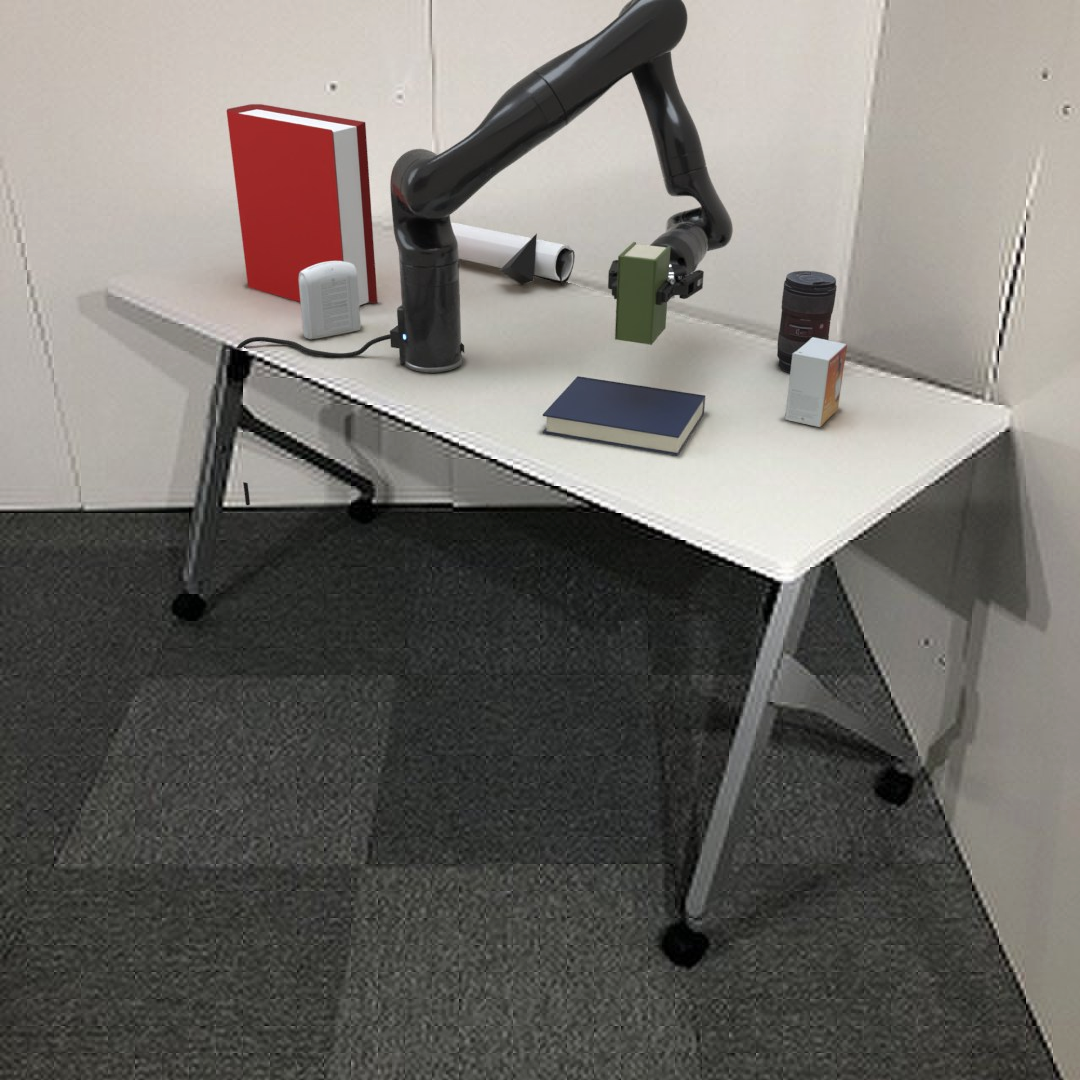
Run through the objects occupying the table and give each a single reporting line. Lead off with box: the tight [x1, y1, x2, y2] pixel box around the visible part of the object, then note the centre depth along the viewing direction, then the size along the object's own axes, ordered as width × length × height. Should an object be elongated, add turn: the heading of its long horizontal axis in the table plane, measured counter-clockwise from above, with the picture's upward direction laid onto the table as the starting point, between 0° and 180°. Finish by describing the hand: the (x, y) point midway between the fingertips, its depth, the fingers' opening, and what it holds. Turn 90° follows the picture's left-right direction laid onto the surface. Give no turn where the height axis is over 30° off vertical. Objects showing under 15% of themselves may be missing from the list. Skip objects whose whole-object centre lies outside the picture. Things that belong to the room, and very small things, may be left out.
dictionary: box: [614, 241, 671, 346], centre depth 167 cm, size 5×7×12 cm
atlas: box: [542, 375, 706, 457], centre depth 174 cm, size 20×15×3 cm
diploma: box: [451, 221, 576, 286], centre depth 233 cm, size 35×9×14 cm
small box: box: [784, 337, 848, 428], centre depth 175 cm, size 8×6×10 cm
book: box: [226, 103, 378, 306], centre depth 216 cm, size 27×8×32 cm, turn 54°
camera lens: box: [776, 270, 838, 374], centre depth 190 cm, size 8×8×15 cm
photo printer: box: [299, 261, 362, 340], centre depth 203 cm, size 10×4×12 cm, turn 123°
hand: (637, 295), depth 165 cm, fingers closed on dictionary, 5 cm apart
